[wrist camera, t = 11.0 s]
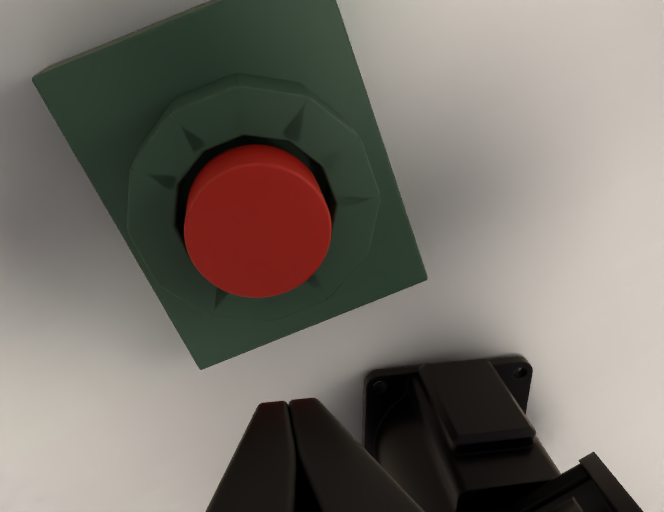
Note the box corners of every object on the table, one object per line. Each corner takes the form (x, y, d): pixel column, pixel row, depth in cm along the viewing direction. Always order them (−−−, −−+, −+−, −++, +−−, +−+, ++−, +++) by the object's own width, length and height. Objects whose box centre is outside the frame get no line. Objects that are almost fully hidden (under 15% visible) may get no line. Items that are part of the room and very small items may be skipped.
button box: (414, 258, 22) (446, 308, 19) (201, 342, 22) (198, 406, 19) (313, -42, 17) (334, -41, 14) (45, 67, 18) (7, 92, 14)
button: (340, 239, 18) (351, 267, 16) (221, 287, 18) (221, 319, 16) (293, 122, 16) (301, 140, 15) (163, 174, 16) (156, 198, 15)
